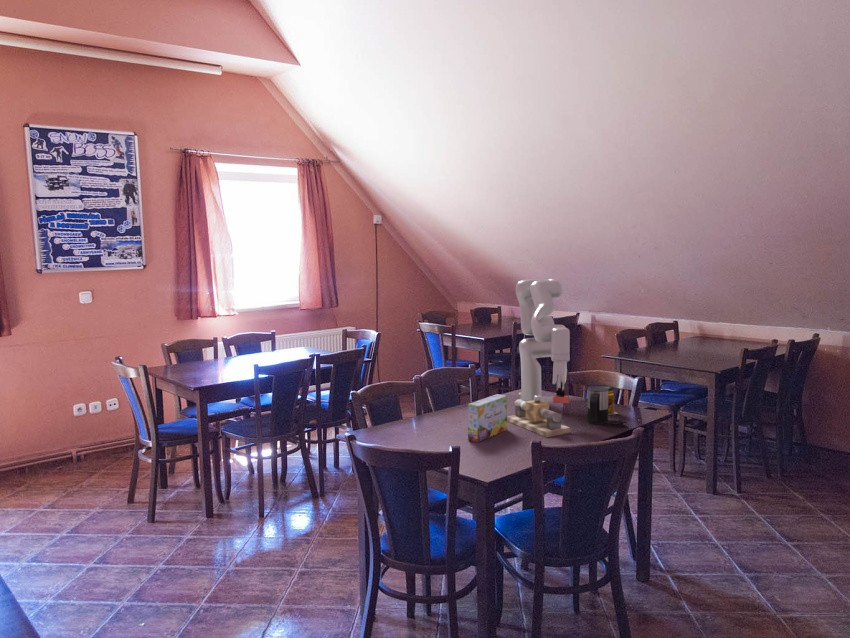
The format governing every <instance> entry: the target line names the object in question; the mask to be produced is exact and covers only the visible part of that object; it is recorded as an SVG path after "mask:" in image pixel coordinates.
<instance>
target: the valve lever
mask: <svg viewBox="0 0 850 638" xmlns="http://www.w3.org/2000/svg"><path fill="white" fill-rule="evenodd" d="M534 402H548V403H553V404H569V403H570V396H569V395H564V396H556V395H553V396H551V395H550V396H549V395H548V396H547V395H545V396H544V395H541V396H539V395H535V396H534Z"/></svg>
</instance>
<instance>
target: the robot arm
mask: <svg viewBox="0 0 850 638" xmlns="http://www.w3.org/2000/svg"><path fill="white" fill-rule="evenodd" d="M515 295H516V299H517V302H518V304H519V310H520V311H519V313H520V330H521V332H522V334H523V335H525V336H533V337H527V338H523V339H522V340H520V341H519V343H518V344H519V345H518V350H519V351H518V352H519V357H520V376H521V378H520V379H521V380H520V382H521V383H520V384H521V385H520V386H521V387H520V388H521V391H519V392H518V396H520V398H519V400H522V401H525V402H527V401H533V400H534V396H535V395H539V396H542V366H541V364H540V363H539V361H538V359H539V358H549V357H550V358H551V359H550V360H551V361H552V362H553V366H552V385H556V395H555V396H565V384H566V383H567V382H566V381H567V370H568V367H567V366H568V365H567V364H568V362H570V360H571V359H570V354H571V353H570V352H571V351H570V349H571V348H570V347H571V346H570V345H571V344H570V343H571V342H570V341H571V339H570V334H571V331H570V329H569V328H568V327H566V326H565V325H563V324H555V321H554V318H553V317H552V316H551V314H553V313H554V311H555V309H556V304H555V301H554V300H553V299H559V298H561V297H562V295H563V287H562V284H561V282H560V281H559V280H557V279H552V278H531V279H529V278H528V279H522V280H520V281H518V282H516V285H515Z"/></svg>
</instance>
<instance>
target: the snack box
mask: <svg viewBox="0 0 850 638" xmlns="http://www.w3.org/2000/svg"><path fill="white" fill-rule="evenodd" d="M467 404H468V405H467V441H470V440H471V441H470V442H475V443H479V442H482V441H484V440H486V439H489V438H491V436H492V437H494V436H496V435H499V434H500V433H503V432H505V430H506V431H507V430H508V421H507V416H508V395H505V394H498V393H497V394H494V395H490V396H488V397H485V398H482V399H479V400H477V401H474V402H471V403H467ZM498 433H499V434H498ZM493 435H494V436H493Z"/></svg>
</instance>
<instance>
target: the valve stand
mask: <svg viewBox="0 0 850 638" xmlns="http://www.w3.org/2000/svg"><path fill="white" fill-rule="evenodd" d="M519 399H520V398H519ZM519 399H516V400H515V401H514V407H515V408H514V409H515V411H514V412H515V414H514V415H507V422H508V421H509V422H508V423H511V424H514V425H516V426H518V427H521V428H523V429H526V430H528V431H531V432H534V433H535V434H538V435H540V436H542V437H545V438H550V437H554V436H555V437H556V436H560V435H566V434H570V433H571V427H569V426H567V425H564V424H562V419H563V416H562V414H561V413H559V412H556V411H553V410H550V402H534V400H533V401H527V402H525V401H522V400H519Z"/></svg>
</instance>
